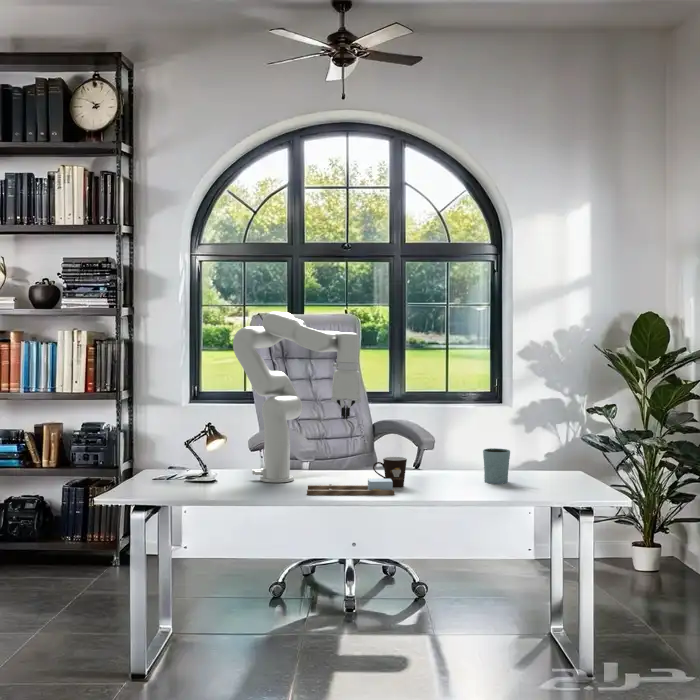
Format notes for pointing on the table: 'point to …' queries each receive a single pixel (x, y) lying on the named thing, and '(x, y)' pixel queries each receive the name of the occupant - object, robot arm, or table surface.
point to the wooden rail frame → (345, 490)
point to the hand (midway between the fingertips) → (345, 418)
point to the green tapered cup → (496, 465)
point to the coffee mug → (394, 470)
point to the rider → (380, 484)
